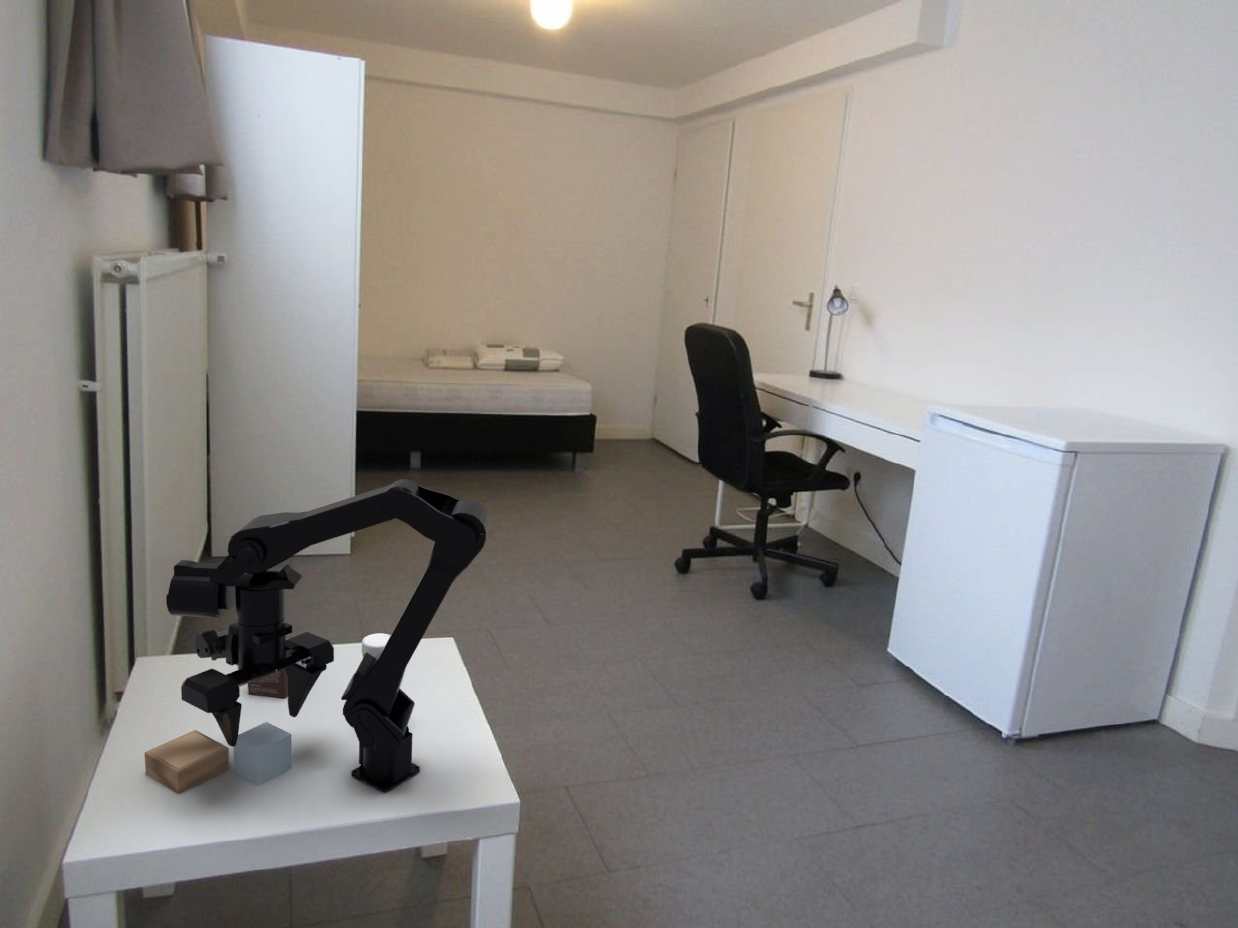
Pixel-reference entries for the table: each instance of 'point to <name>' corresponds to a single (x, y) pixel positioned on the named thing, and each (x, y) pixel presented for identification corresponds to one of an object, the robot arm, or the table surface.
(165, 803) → the table surface
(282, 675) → the box
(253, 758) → the blue cube
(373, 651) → the sprinkles bottle
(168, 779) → the base block
